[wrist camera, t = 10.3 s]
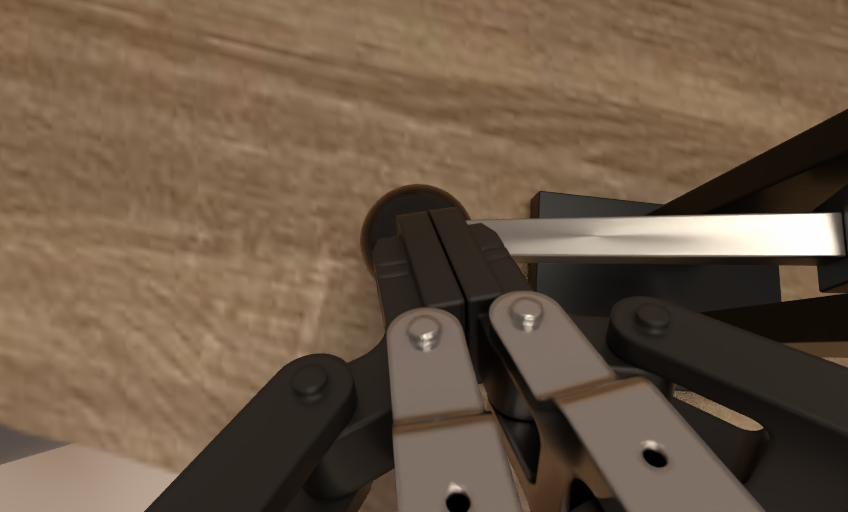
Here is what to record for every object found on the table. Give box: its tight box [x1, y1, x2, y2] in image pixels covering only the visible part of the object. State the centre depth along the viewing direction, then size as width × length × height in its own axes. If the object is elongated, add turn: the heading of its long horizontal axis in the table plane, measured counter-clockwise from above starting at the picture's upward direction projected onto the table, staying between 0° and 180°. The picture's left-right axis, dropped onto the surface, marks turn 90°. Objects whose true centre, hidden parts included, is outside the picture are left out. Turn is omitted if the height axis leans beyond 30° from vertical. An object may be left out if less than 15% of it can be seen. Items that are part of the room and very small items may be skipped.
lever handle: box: [360, 184, 848, 293], centre depth 13 cm, size 15×4×4 cm, turn 85°
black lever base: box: [528, 109, 848, 392], centre depth 15 cm, size 11×8×13 cm
